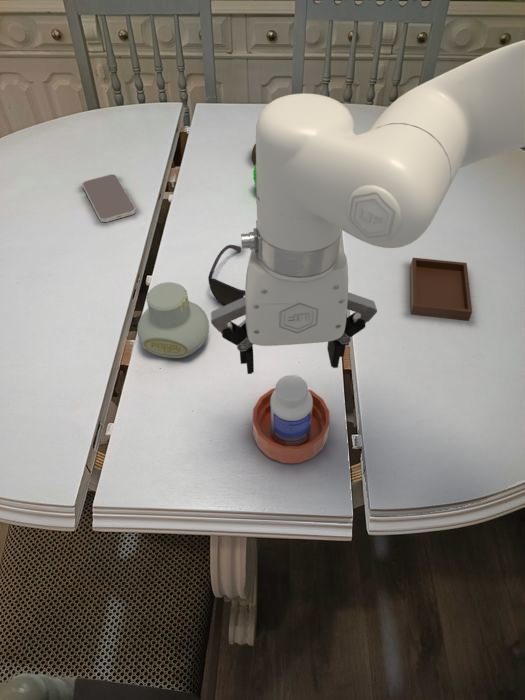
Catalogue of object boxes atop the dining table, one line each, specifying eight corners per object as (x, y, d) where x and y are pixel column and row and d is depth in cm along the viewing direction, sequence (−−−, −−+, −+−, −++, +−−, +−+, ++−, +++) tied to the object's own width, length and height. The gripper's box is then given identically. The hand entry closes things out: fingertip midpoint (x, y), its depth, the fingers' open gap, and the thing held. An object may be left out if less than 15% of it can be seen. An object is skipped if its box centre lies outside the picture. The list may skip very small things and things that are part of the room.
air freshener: (134, 356, 82) (120, 310, 74) (151, 318, 87) (139, 271, 80) (203, 365, 81) (195, 319, 73) (215, 326, 86) (210, 279, 78)
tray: (468, 320, 86) (472, 311, 84) (410, 314, 87) (413, 305, 86) (463, 271, 94) (466, 262, 92) (410, 266, 95) (412, 257, 93)
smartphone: (100, 220, 104) (80, 182, 112) (101, 224, 104) (82, 186, 113) (136, 209, 106) (114, 173, 114) (137, 213, 106) (115, 177, 115)
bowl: (337, 417, 74) (340, 400, 71) (310, 476, 68) (312, 461, 65) (272, 393, 77) (272, 376, 74) (241, 448, 71) (239, 432, 68)
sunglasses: (206, 307, 89) (203, 285, 85) (224, 248, 99) (222, 226, 95) (287, 315, 87) (288, 292, 84) (296, 254, 97) (297, 231, 94)
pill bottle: (317, 439, 71) (322, 397, 64) (279, 453, 70) (280, 411, 63) (300, 408, 75) (303, 364, 67) (264, 421, 73) (263, 377, 66)
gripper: (203, 275, 45) (217, 393, 58) (402, 263, 46) (372, 381, 59) (202, 222, 50) (215, 342, 63) (382, 213, 51) (358, 332, 64)
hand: (291, 361), depth 61 cm, fingers open, 9 cm apart
